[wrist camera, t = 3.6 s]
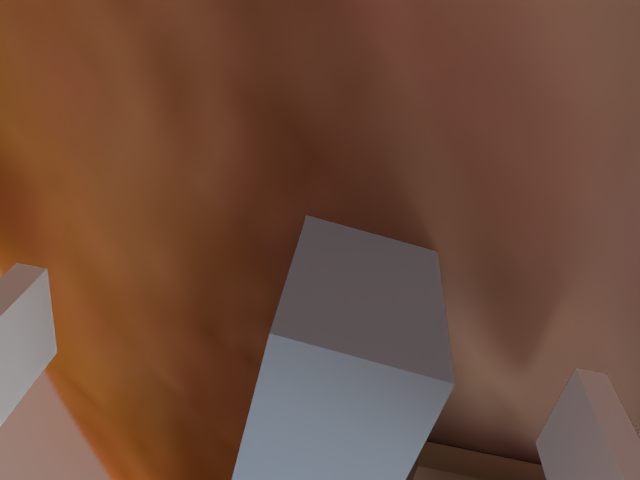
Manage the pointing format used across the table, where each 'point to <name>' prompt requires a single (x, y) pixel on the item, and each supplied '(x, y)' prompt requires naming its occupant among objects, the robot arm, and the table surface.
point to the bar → (350, 361)
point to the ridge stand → (469, 465)
